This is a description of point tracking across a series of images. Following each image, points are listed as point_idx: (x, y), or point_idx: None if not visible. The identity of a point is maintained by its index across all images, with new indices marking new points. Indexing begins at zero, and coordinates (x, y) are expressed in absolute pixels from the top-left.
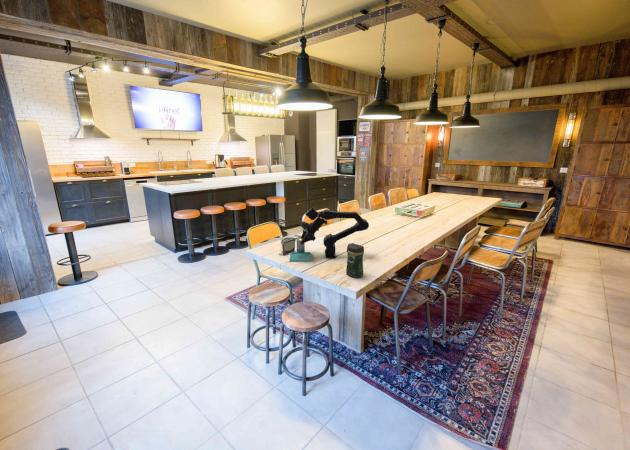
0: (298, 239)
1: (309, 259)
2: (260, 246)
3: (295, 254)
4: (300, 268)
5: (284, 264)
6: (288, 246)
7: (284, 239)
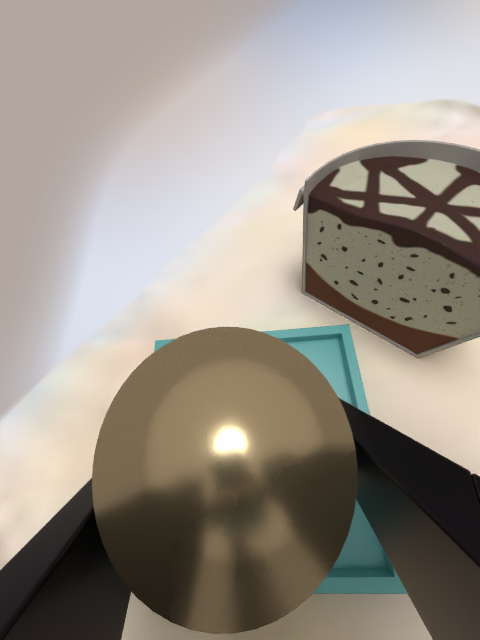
0: (149, 387)
1: None
2: (454, 114)
3: (324, 376)
4: (14, 456)
5: (119, 318)
6: (363, 273)
7: (464, 170)
